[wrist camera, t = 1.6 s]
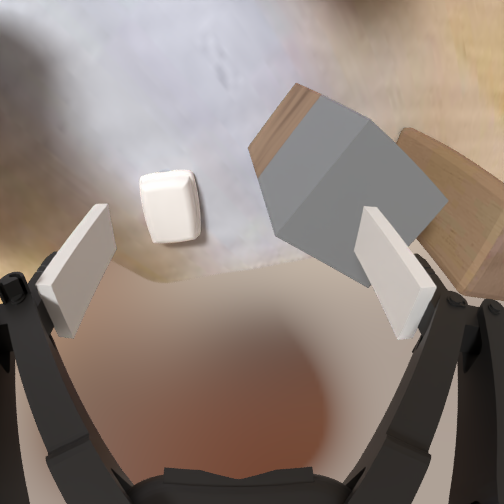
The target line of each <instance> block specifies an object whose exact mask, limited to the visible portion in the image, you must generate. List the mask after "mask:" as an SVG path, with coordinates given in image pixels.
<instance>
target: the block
mask: <svg viewBox="0 0 504 504" xmlns="http://www.w3.org/2000/svg"><path fill="white" fill-rule="evenodd" d="M396 144H397V145H398V146H399V147H400V148H401V149H402V150H403V151H404V152H405V153H406V154H407V155H408V156H409V157H410V158H411V159H412V160H413V161H414V162H415V164H416V165H417V166H418V167H419V168H420V169H421V170H422V171H423V172H424V173H425V174H426V175H427V176H428V177H429V179H430V180H431V181H432V182H433V183H434V184H435V185H436V186H437V188H438V189H439V190H440V191H441V192H442V193H443V194H444V196H445V197H446V198H447V199H448V200H449V201H448V202H447V204H446V205H445V206H444V207H443V208H442V209H441V211H440V212H439V213H438V214H437V215H436V216H435V218H434V219H433V220H432V221H431V222H430V223H429V224H428V226H427V227H426V228H425V229H424V230H423V231H422V232H421V233H420V234H419V236H418V237H417V238H416V239H417V240H418V241H419V242H420V244H421V245H422V246H423V247H424V248H425V250H426V251H427V252H428V253H429V255H430V256H431V257H432V258H433V260H434V261H435V262H436V263H437V265H438V266H439V267H440V268H441V270H442V271H443V272H444V274H445V275H446V276H447V278H448V279H449V280H450V281H451V283H452V284H453V286H454V287H455V288H456V290H457V291H458V292H459V293H460V294H462V295H465V296H471V297H478V298H486V299H493V300H501V301H504V183H503V182H501V181H500V180H499V179H497V178H496V177H495V176H493V175H492V174H490V173H489V172H487V171H486V170H484V169H483V168H481V167H480V166H479V165H477V164H476V163H474V162H472V161H471V160H469V159H468V158H466V157H465V156H463V155H462V154H460V153H458V152H457V151H455V150H453V149H452V148H450V147H448V146H446V145H444V144H442V143H441V142H439V141H437V140H435V139H433V138H431V137H429V136H427V135H425V134H423V133H421V132H419V131H417V130H415V129H413V128H404V129H403V130H402V131H401V133H400V136H399V138H398V141H397V143H396Z"/></svg>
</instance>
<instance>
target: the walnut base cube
mask: <svg viewBox="0 0 504 504" xmlns="http://www.w3.org/2000/svg"><path fill="white" fill-rule="evenodd" d="M321 95H322V94H320V93H318V92H315V91H313V90H311V89H309V88H307V87H304V86H302V85H300V84H298V83H296V84H295V85H294V86H293V87H292V89H291V90H290V91H289V93H288V94H287V95H286V97H285V98H284V99H283V101H282V102H281V103H280V105H279V106H278V107H277V109H276V110H275V111H274V113H273V114H272V115H271V117H270V118H269V119H268V121H267V122H266V123H265V125H264V126H263V127H262V129H261V130H260V132H259V133H258V134H257V136H256V137H255V138H254V140H253V141H252V143H251V144H250V145H249V147H248V150H249V153H250V156H251V159H252V162H253V165H254V169H255V172H256V175H257V178H259V176H260V175H261V173H262V172H263V171H264V169H265V168H266V167H267V165H268V164H269V163H270V161H271V160H272V159H273V157H274V156H275V155H276V153H277V152H278V151H279V149H280V148H281V147H282V145H283V144H284V143H285V141H286V140H287V139H288V138H289V136H290V135H291V134H292V132H293V131H294V130H295V128H296V127H297V126H298V124H299V123H300V122H301V121H302V119H303V118H304V117H305V115H306V114H307V113H308V112H309V110H310V109H311V108H312V106H313V105H314V104H315V103H316V101H317V100H318V99H319V97H320V96H321Z"/></svg>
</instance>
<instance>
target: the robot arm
mask: <svg viewBox="0 0 504 504" xmlns="http://www.w3.org/2000/svg"><path fill="white" fill-rule="evenodd" d="M116 250H117V247H116V242H115V238H114V233H113V227H112V222H111V217H110V211H109V205H108V204H95V205H94V206H93V207H92V208H91V210H90V211H89V212H88V213H87V215H86V216H85V217H84V218H83V220H82V221H81V222H80V223H79V225H78V226H77V227H76V228H75V230H74V231H73V232H72V234H71V235H70V236H69V238H68V239H67V240H66V242H65V243H64V244H63V246H62V247H61V248H60V250H59V251H58V252H53V253H52V254H50V255H49V256H48V257H47V258H46V259H45V260H44V261H43V263H42V264H41V266H40V267H39V268H38V270H37V272H36V273H35V274H34V275H33V277H32V278H31V280H30V281H29V283H28V284H27V282H26V279H25V277H24V275H23V273H21V272H12V273H9V274H7V275H5V276H4V277H2V278H1V279H0V298H1V300H2V302H3V304H0V504H30V502H29V497H28V492H27V487H26V482H25V477H24V471H23V465H22V459H21V452H20V444H19V435H18V425H17V413H16V394H15V359H16V363H17V366H18V370H19V373H20V377H21V380H22V384H23V386H24V390H25V393H26V396H27V399H28V402H29V405H30V408H31V411H32V414H33V416H34V419H35V422H36V424H37V427H38V430H39V432H40V434H41V437H42V439H43V442H44V444H45V446H46V449H47V451H48V456H46V462H47V465H48V468H49V470H50V472H51V474H52V476H53V478H54V480H55V482H56V484H57V486H58V488H59V490H60V492H61V494H62V496H63V498H64V500H65V501H66V503H67V504H411V503H412V501H413V499H414V497H415V495H416V493H417V491H418V489H419V487H420V484H421V482H422V480H423V478H424V475H425V473H426V471H427V469H428V466H429V463H430V460H431V455H430V454H429V453H428V450H429V447H430V445H431V442H432V439H433V437H434V434H435V432H436V429H437V426H438V423H439V421H440V418H441V415H442V412H443V409H444V405H445V402H446V399H447V396H448V393H449V389H450V386H451V382H452V379H453V375H454V371H455V368H456V364H457V362H458V415H457V435H456V447H455V457H454V467H453V475H452V482H451V489H450V495H449V503H448V504H504V307H503V306H502V305H501V304H500V303H498V302H497V301H495V300H493V299H484V301H483V302H482V304H481V305H480V307H475V306H470V305H468V304H467V301H466V300H465V299H464V298H463V297H462V296H461V295H460V294H458V293H456V292H453V291H448V290H447V289H446V288H445V286H444V285H443V283H442V282H441V280H440V279H439V277H438V276H437V275H436V274H435V272H434V271H433V269H432V268H431V266H430V265H429V264H428V263H427V261H426V260H425V259H423V258H422V257H421V256H420V255H419V254H413V253H412V251H411V250H410V249H409V248H408V246H407V245H406V243H405V242H404V241H403V239H402V238H401V237H400V236H399V234H398V233H397V232H396V230H395V229H394V228H393V227H392V225H391V224H390V223H389V221H388V220H387V219H386V218H385V216H384V215H383V214H382V213H381V212H380V210H379V209H378V208H377V207H369V206H364V208H363V212H362V217H361V222H360V226H359V231H358V235H357V240H356V244H355V248H354V252H355V254H356V256H357V258H358V260H359V262H360V263H361V265H362V267H363V269H364V271H365V273H366V275H367V277H368V279H369V281H370V283H371V285H372V287H373V289H374V291H375V293H376V295H377V297H378V299H379V301H380V303H381V305H382V308H383V310H384V312H385V314H386V316H387V318H388V320H389V322H390V325H391V327H392V329H393V331H394V333H395V335H396V338H397V340H400V339H408V338H413V336H414V334H415V332H416V330H417V328H419V330H420V333H421V336H420V338H419V340H418V342H417V344H416V345H415V347H414V349H413V351H412V353H413V355H412V357H411V360H410V362H409V364H408V367H407V369H406V371H405V373H404V376H403V378H402V380H401V382H400V384H399V387H398V389H397V391H396V393H395V395H394V397H393V399H392V401H391V403H390V405H389V407H388V409H387V411H386V413H385V415H384V417H383V419H382V421H381V423H380V424H379V426H378V428H377V430H376V432H375V434H374V435H373V437H372V439H371V441H370V442H369V444H368V446H367V448H366V449H365V451H364V453H363V454H362V456H361V458H360V459H359V461H358V463H357V464H356V466H355V467H354V469H353V470H352V471H351V473H350V474H349V475H348V477H347V478H346V479H345V481H344V482H343V483H341V482H339V481H336V480H334V479H332V478H329V477H326V476H321V475H317V474H313V470H312V467H306V468H305V467H304V468H294V469H280V470H274V471H270V472H267V473H263V474H259V475H256V476H252V477H248V478H244V479H233V478H229V477H225V476H220V475H216V474H213V473H209V472H205V471H201V470H189V469H175V468H164V475H159V476H155V477H151V478H149V479H146V480H143V481H141V482H139V483H137V484H136V485H133V483H132V482H131V481H130V480H129V478H128V477H127V476H126V474H125V473H124V472H123V471H122V469H121V468H120V466H119V465H118V464H117V462H116V460H115V459H114V457H113V456H112V454H111V453H110V451H109V449H108V448H107V446H106V445H105V443H104V441H103V440H102V438H101V436H100V434H99V433H98V431H97V429H96V428H95V426H94V424H93V422H92V420H91V419H90V417H89V415H88V413H87V411H86V409H85V407H84V405H83V404H82V402H81V400H80V398H79V396H78V394H77V392H76V390H75V388H74V386H73V383H72V381H71V379H70V377H69V375H68V373H67V371H66V368H65V366H64V364H63V362H62V359H61V357H60V355H59V352H58V350H57V347H56V345H55V342H54V340H53V338H52V336H51V332H52V330H53V328H55V330H56V332H57V334H58V336H59V337H65V338H73V339H74V337H75V335H76V332H77V330H78V328H79V325H80V323H81V321H82V319H83V317H84V314H85V312H86V310H87V308H88V306H89V303H90V301H91V299H92V297H93V295H94V293H95V291H96V289H97V287H98V285H99V283H100V280H101V278H102V277H103V275H104V273H105V271H106V269H107V267H108V265H109V263H110V261H111V259H112V257H113V255H114V253H115V251H116Z"/></svg>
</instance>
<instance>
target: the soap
mask: <svg viewBox="0 0 504 504" xmlns="http://www.w3.org/2000/svg"><path fill="white" fill-rule="evenodd" d="M139 186H140V196H141V202H142V208H143V212H144V216H145V220H146V223H147V227H148V230H149V233H150V235H151V238H152V241H153V243H176V242H184V241H189V240H194V239H196V238H197V236H199V235H200V233H201V215H200V205H199V197H198V191H197V186H196V182H195V178H194V174H193V172H192V171H191V170H171V171H168V172H160V173H159V172H155V173H151V174H147V175H143V176H142V177H141V178H140V180H139Z"/></svg>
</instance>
